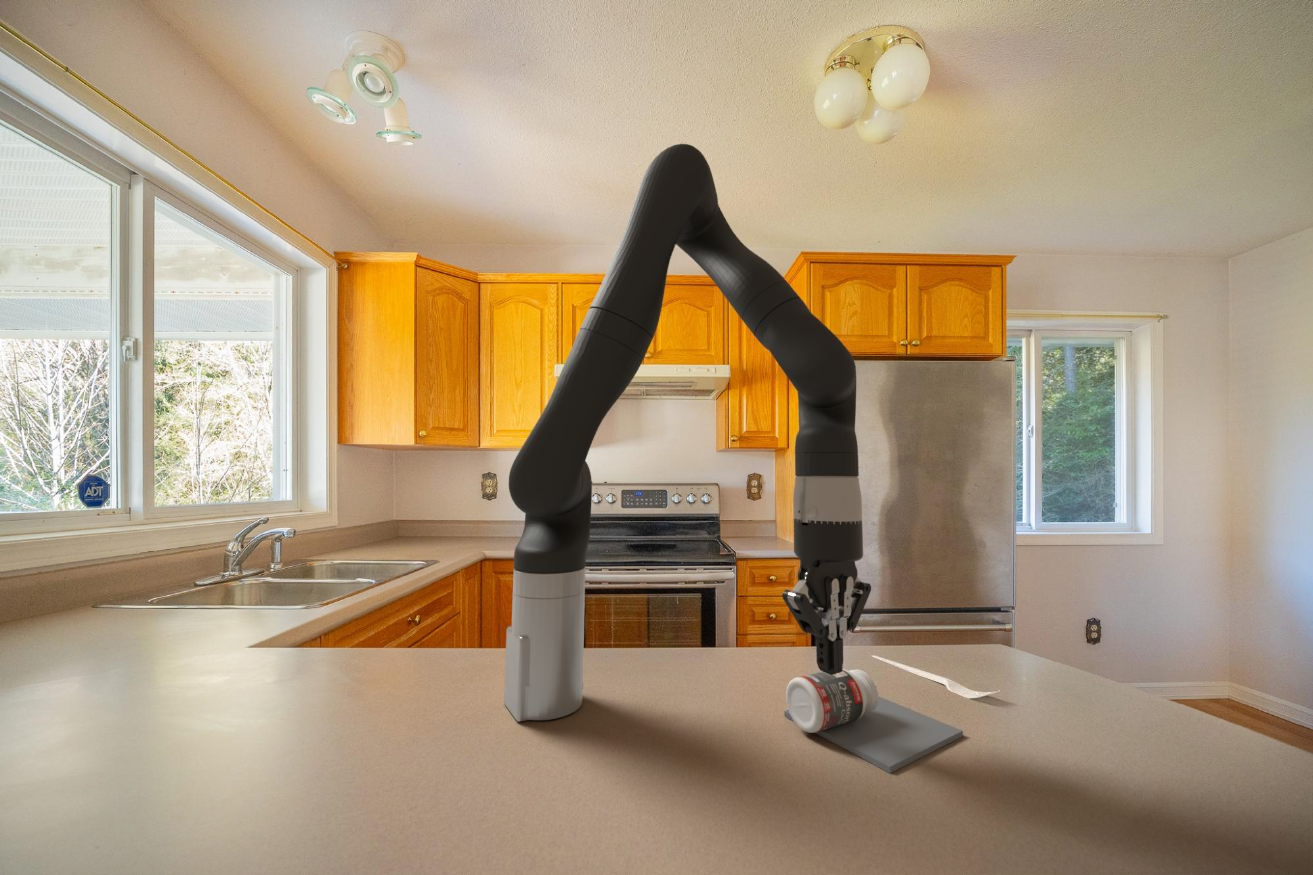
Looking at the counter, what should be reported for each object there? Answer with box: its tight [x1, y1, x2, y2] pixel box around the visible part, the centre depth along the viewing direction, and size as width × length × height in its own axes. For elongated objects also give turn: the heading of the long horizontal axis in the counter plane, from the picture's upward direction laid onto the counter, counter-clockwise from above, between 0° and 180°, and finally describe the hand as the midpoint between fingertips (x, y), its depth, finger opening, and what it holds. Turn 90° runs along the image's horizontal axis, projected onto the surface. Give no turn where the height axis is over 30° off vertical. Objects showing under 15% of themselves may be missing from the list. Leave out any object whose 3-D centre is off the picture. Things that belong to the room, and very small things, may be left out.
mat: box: [783, 695, 964, 774], centre depth 59 cm, size 14×14×1 cm
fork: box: [871, 654, 1001, 699], centre depth 74 cm, size 3×20×2 cm, turn 25°
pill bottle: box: [785, 668, 879, 734], centre depth 59 cm, size 6×6×10 cm
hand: (830, 671), depth 56 cm, fingers closed
